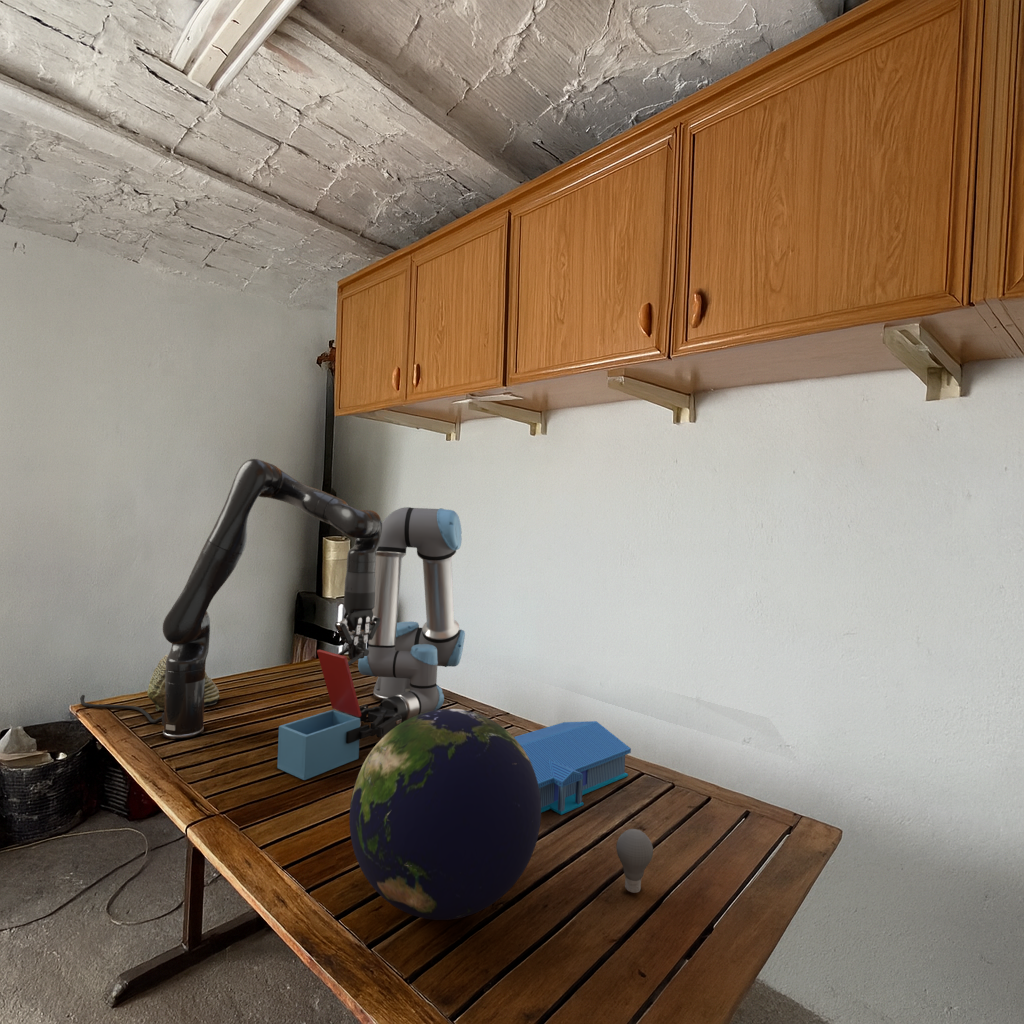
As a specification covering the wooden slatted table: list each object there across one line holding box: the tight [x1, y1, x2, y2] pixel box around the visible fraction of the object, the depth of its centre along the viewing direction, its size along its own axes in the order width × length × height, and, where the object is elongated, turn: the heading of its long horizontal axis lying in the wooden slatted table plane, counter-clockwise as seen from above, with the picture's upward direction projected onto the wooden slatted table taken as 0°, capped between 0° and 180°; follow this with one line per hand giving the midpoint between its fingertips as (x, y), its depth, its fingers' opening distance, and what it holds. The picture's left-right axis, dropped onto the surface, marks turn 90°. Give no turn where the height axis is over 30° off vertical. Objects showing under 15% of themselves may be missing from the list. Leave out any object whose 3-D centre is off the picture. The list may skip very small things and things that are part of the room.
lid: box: [316, 644, 369, 717], centre depth 157 cm, size 16×10×9 cm
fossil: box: [147, 654, 221, 712], centre depth 185 cm, size 9×18×15 cm, turn 132°
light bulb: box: [615, 828, 654, 894], centre depth 106 cm, size 6×6×10 cm
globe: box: [349, 708, 542, 921], centre depth 100 cm, size 30×30×30 cm
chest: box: [276, 708, 361, 781], centre depth 150 cm, size 16×10×10 cm, turn 145°
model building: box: [513, 720, 632, 816], centre depth 144 cm, size 39×24×10 cm, turn 132°
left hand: (356, 658), depth 158 cm, fingers closed on lid, 2 cm apart
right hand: (332, 732), depth 153 cm, fingers closed on chest, 10 cm apart
